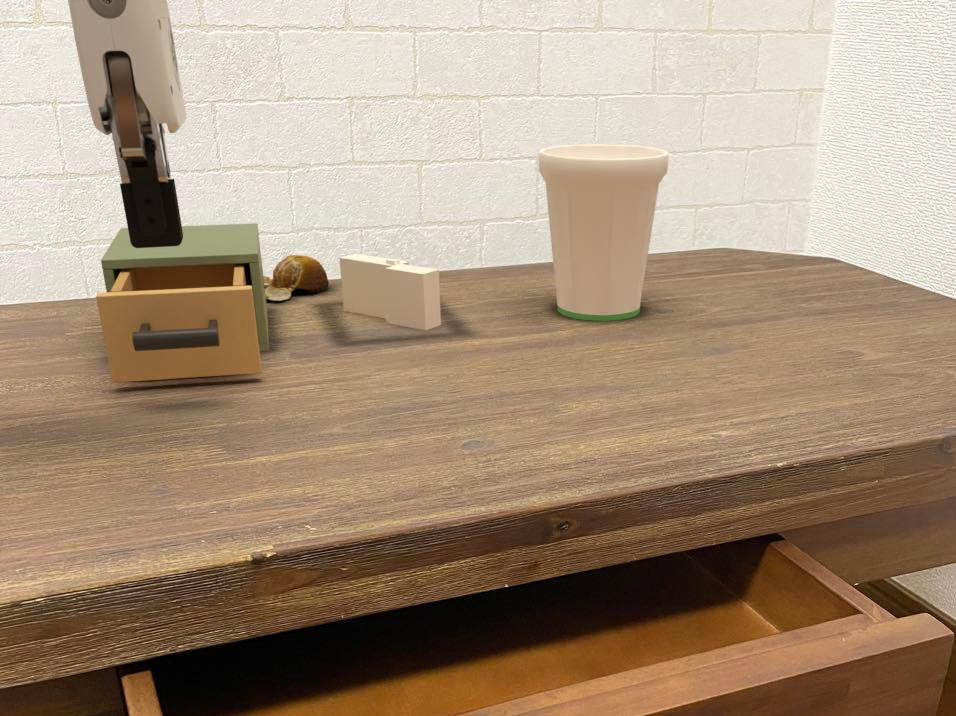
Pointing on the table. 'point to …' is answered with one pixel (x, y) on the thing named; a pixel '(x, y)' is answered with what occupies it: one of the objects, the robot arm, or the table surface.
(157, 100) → the robot arm
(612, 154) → the cup
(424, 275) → the napkin holder
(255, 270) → the cabinet
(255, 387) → the table surface
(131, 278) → the drawer
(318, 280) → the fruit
